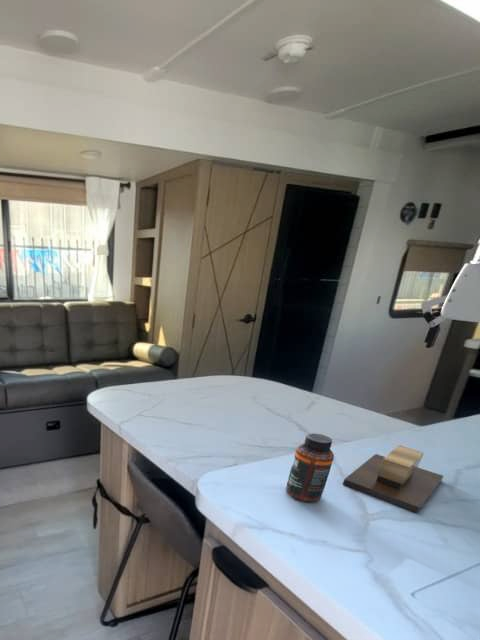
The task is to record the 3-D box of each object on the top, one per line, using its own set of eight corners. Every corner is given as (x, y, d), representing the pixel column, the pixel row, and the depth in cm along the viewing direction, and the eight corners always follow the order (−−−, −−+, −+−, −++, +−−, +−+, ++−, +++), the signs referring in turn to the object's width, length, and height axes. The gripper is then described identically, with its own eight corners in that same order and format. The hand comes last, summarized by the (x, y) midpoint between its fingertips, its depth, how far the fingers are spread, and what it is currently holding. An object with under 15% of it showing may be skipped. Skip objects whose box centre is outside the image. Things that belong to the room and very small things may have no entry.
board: (373, 458, 88) (375, 453, 88) (441, 481, 80) (443, 475, 80) (342, 484, 77) (344, 478, 77) (416, 513, 69) (419, 507, 69)
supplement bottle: (327, 497, 73) (346, 440, 68) (309, 507, 70) (328, 448, 65) (296, 482, 77) (312, 428, 72) (278, 491, 74) (293, 434, 69)
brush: (390, 465, 83) (399, 445, 81) (414, 473, 80) (424, 452, 78) (374, 480, 77) (382, 458, 75) (399, 490, 74) (409, 467, 72)
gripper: (570, 258, 69) (520, 358, 76) (445, 255, 80) (412, 342, 88) (568, 257, 64) (515, 363, 72) (436, 253, 76) (402, 345, 83)
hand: (458, 351), depth 80 cm, fingers open, 9 cm apart
